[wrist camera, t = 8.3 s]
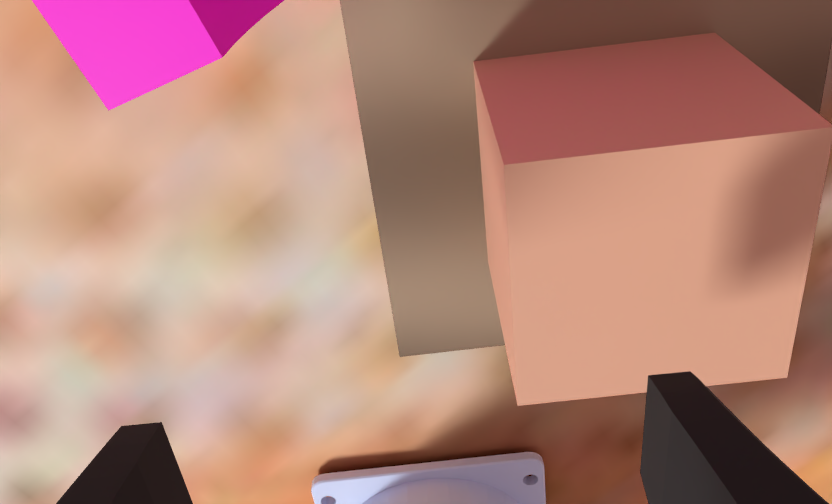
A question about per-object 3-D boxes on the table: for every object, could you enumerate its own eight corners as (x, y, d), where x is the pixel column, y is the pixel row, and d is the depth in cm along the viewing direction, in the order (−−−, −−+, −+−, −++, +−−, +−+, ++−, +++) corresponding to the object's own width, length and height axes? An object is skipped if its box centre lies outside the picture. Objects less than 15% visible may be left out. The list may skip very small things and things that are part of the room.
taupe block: (739, 252, 22) (785, 313, 20) (398, 291, 23) (399, 356, 20) (787, -128, 17) (857, -111, 14) (340, -69, 17) (333, -42, 15)
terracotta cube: (695, 239, 18) (787, 377, 14) (488, 261, 19) (517, 405, 14) (714, 32, 16) (835, 126, 12) (473, 61, 16) (503, 164, 12)
